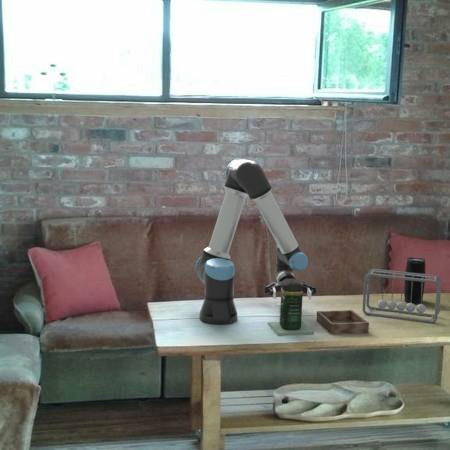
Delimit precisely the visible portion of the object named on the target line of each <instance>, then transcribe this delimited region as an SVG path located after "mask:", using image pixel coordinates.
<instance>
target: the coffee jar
mask: <svg viewBox="0 0 450 450" xmlns="http://www.w3.org/2000/svg"><path fill="white" fill-rule="evenodd" d="M303 294H304V293H303V284H302V282H301V281H299V280H297V278H295V279H285V280H283V281H282V283H281V291H280V310H279V311H280V312H279V322H280V325H281V327H282V328H284V329H289V330H296V329H300V328H301V321H302V317H303V315H302V314H303V311H302V310H303V296H304V295H303Z"/></svg>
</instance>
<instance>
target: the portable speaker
mask: <svg viewBox="0 0 450 450" xmlns="http://www.w3.org/2000/svg"><path fill="white" fill-rule="evenodd" d="M406 259H407V261H406V266H405V271H404V272H410V273H419V274H426V259H425V258H423V257H413V256H410V257H407V258H406ZM404 277H410V278H419V279H426V277H423V278H422V277H421V276H411V275H404ZM412 283H413V287H412V292H411V285H412ZM421 283H422V282H420V281H411V280H404V283H403V294H404V295H403V296H404V299H403V300H404V302H406V303H410V302H413V303H414V304H416V303H418V304H421ZM425 285H426V282H423V287H422V301H423V298H424V292H425ZM411 294H412V298H411Z"/></svg>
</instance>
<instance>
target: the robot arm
mask: <svg viewBox="0 0 450 450" xmlns="http://www.w3.org/2000/svg"><path fill="white" fill-rule="evenodd" d="M225 177H226V179H225V182H224V184H223V185H224V186H223V187H224V189H225V194H224V197H223V201H222V203H221V206H220V210H219V213H218V217H217V220H216V223H215V225H214V229H213V231H212V235H211V238H210V241H209V245H208V246H207V247H206V248H204V249H203V251H202V255H201V256H200V257H199V258H198V260H197V261H196V264H195V273H196V276H197V277H198V280H200V281H201V282H202V284H204V298H203V299H204V300H203V303H202V305H201V309H200V311H199V320H200V321H202V322H203V323H207V324H210V325H211V324H213V325H227V324H228V325H229V324H232V323H235V322H236V321H238V311H237V307H236V303H235V301H234V300H235V299H234V297H235V295H234V294H235V274H236V270H235V264H234V263H233V262H232V261H231V255H230V254H229V252H230V249H231V246H232V242H233V239H234V236H235V233H236V230H237V228H238V223H239V220H240V218H241V214H242V211H243V208H244V205H245V202H246V200H247V198H248V197H249V199H250V200H251V201H253V202H254V203H255V205H256V207H257V209H258V211H259V212H260V214H261V217H262V218H263V220H264V222H265V224H266V226H267V228H268V230H269V231H270V234H271V235H272V238H273V239H274V241H275V243H276V254H275V255H276V256H275V257H276V258H275V259H276V262H275V271H274V278H275V281H276V282H275V281H271V283H268V284H267V285H265V286H264V293H265V294H268V293H269V296H273V299H277V293H278V292H281V283H282V281H283V280H285V279H296V276H295V275H294V271H296V272H298V271H303V270H305V269H306V268H307V267H308V264H309V259H308V256H307V255H306V253H304V252H303V251H302V249H301V247H300V246H299V243H298V241H297V239H296V238H295V236H294V233H293V232H292V230H291V228H290V226H289V224H288V222H287V220H286V218H285V216H284V214H283V211H282V210H281V208H280V207H279V204H278V203H277V200H276V199H275V196H274V195H273V193H272V191H273V187H272V185H271V183H270V181H269V179H268V177H267V175H266V173H265V171H264V169H263V168H262V166H261V165H260V164H259V163H258V162H257V161H255V160H251V159H247V158H244V157H243V158H234V159H233V160H232V161H230V162H229V163H228V165H227V167H226V170H225ZM301 283H302V284H303V294H306V295H307V297H308V300H312V296H314V295H316V294H317V287H315V286H312V285H311V284H308V283H306V282H305V281H302V282H301Z"/></svg>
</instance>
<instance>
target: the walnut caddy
mask: <svg viewBox="0 0 450 450" xmlns="http://www.w3.org/2000/svg"><path fill="white" fill-rule="evenodd" d="M315 321H316V322H317V323H318V324H319V325H320V326H322V328H323V329H325V330H326V331H327V332H328V333H329V335H349V334H350V335H352V334H368V333H369V330H370V322H369V321H367V320H366V319H365V318H364V317H362V316H361V315H359V313H357V312H356V311H354V310H353V309H347V310H346V309H343V310H341V309H340V310H338V309H337V310H317V311H316V319H315ZM339 321H340V322H339ZM341 321H343V322H341ZM344 321H345V322H344ZM346 321H350V322H346ZM333 322H335V323H333ZM337 322H338V323H337Z"/></svg>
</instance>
